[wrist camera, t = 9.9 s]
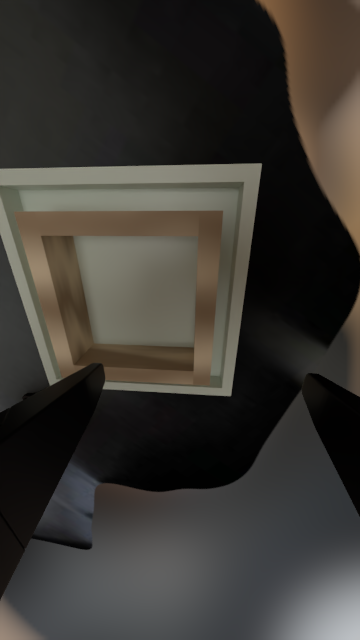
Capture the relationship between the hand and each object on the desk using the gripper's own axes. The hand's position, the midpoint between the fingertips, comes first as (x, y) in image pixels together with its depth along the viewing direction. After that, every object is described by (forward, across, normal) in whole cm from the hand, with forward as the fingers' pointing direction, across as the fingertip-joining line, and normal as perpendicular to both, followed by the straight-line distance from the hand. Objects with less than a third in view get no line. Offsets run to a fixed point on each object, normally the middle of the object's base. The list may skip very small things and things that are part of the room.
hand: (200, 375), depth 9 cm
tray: (+12, +6, 0) cm, 13 cm away
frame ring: (+11, +6, 0) cm, 13 cm away
